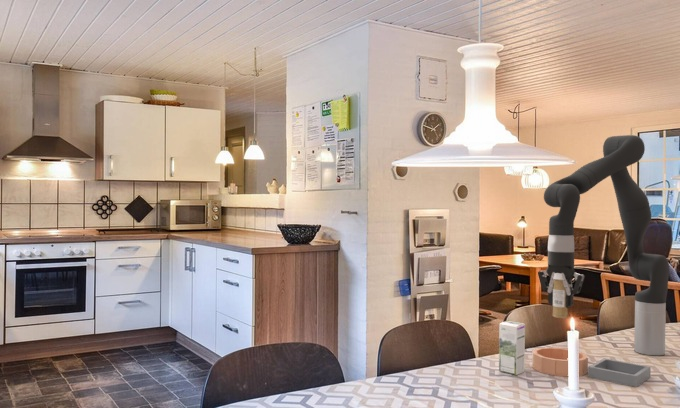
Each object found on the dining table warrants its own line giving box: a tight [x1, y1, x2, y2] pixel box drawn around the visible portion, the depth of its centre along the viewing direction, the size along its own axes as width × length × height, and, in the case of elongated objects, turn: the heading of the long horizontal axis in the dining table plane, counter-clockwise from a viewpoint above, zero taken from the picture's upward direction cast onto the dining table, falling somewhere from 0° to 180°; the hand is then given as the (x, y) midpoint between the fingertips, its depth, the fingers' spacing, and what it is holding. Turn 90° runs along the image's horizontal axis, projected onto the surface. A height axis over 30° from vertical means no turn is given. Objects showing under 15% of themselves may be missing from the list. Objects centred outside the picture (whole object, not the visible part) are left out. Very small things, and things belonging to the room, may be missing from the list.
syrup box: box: [498, 320, 526, 376], centre depth 175 cm, size 6×6×14 cm
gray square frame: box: [587, 357, 652, 388], centre depth 171 cm, size 13×13×3 cm
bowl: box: [531, 346, 589, 377], centre depth 179 cm, size 15×15×4 cm
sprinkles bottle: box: [552, 273, 569, 319], centre depth 179 cm, size 5×5×14 cm
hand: (560, 306), depth 179 cm, fingers closed on sprinkles bottle, 4 cm apart
